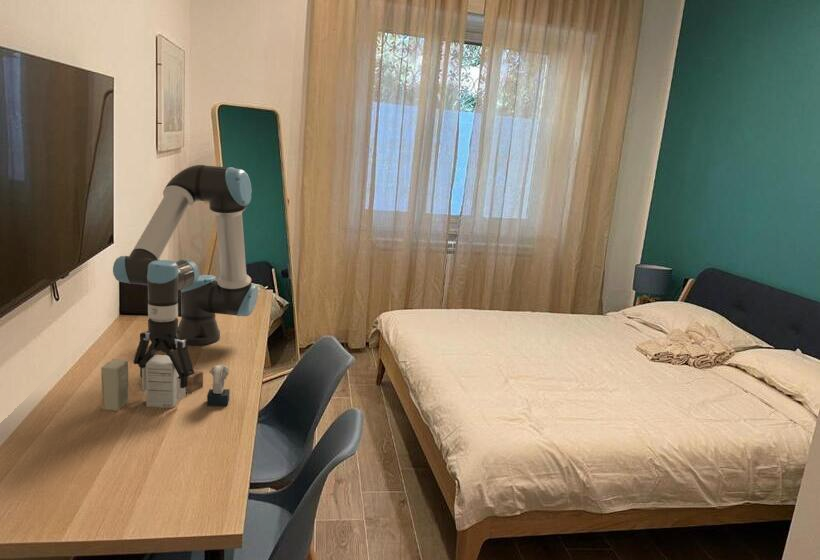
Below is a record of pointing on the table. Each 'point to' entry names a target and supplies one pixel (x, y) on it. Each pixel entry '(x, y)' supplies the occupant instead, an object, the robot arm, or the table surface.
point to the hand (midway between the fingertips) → (163, 393)
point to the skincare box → (114, 384)
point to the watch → (218, 387)
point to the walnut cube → (194, 381)
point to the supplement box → (161, 382)
